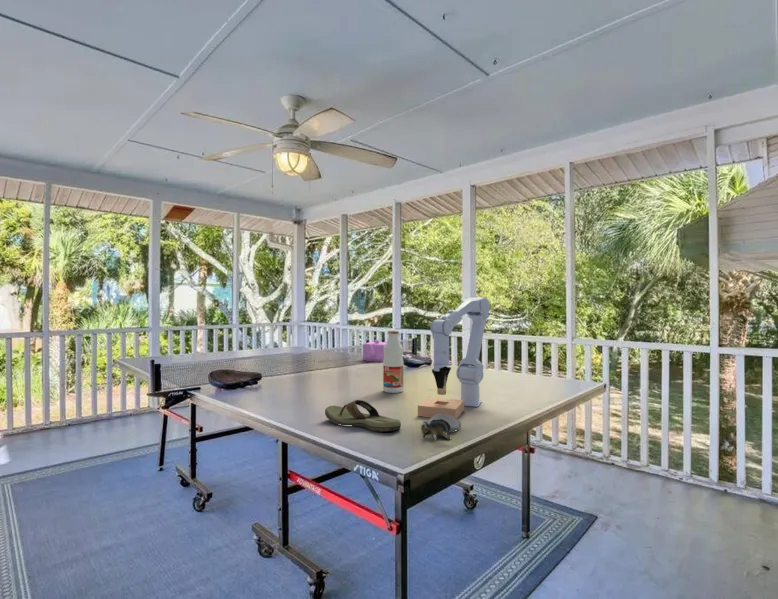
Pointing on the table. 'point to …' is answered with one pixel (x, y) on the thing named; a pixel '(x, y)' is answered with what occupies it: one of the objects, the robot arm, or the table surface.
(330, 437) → the table surface
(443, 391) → the peg
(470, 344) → the robot arm
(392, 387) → the fruit juice
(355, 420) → the flip flop
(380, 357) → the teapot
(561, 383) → the table surface
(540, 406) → the table surface
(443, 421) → the eagle figurine
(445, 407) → the socket
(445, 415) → the stone block
